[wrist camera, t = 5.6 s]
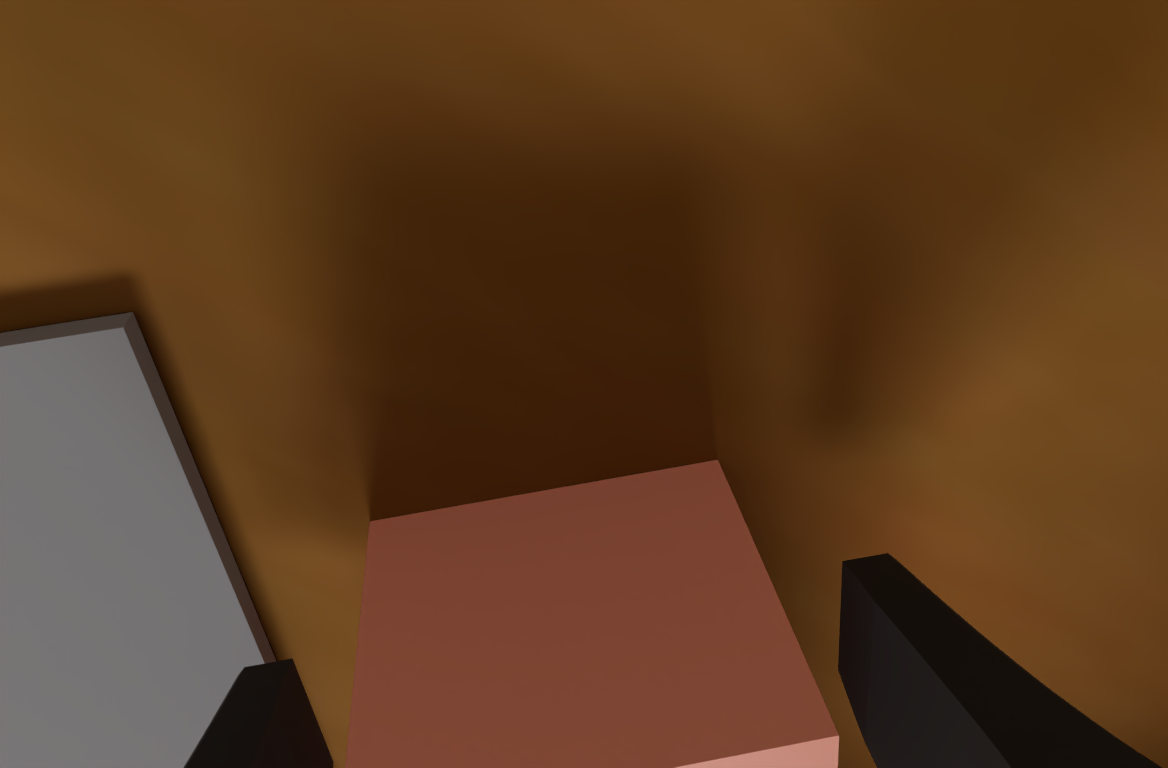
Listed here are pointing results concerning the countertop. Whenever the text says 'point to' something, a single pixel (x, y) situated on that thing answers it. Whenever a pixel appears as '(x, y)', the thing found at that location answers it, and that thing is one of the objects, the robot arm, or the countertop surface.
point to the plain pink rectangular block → (581, 636)
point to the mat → (108, 560)
